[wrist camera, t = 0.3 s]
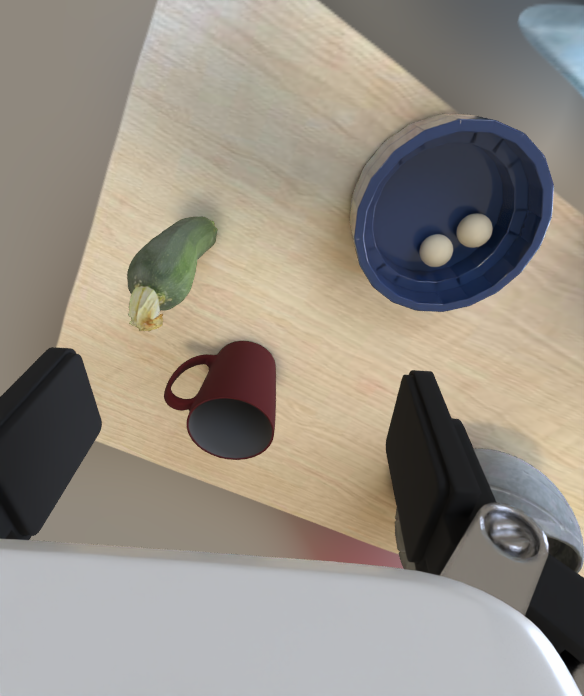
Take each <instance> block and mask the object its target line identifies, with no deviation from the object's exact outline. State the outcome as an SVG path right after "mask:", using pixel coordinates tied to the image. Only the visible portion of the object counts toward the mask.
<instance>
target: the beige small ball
mask: <svg viewBox="0 0 584 696" xmlns="http://www.w3.org/2000/svg"><path fill="white" fill-rule="evenodd" d="M492 230H493V227H492V223H491V221H490V219H489V218H488V217H486V216H485V215H483V214H478V213H476V214H471V215H468V216H466V217H465V218H463V219H462V220H461V222H460V223H459V225H458V227H457V238H458V240H459V242H460V243H461V244H463V245H464V246H466V247H471V248H474V247H479V246H481V245H483V244H485V243H486V242H487V241H488V240H489V238H490V237H491V234H492Z"/></svg>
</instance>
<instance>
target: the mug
mask: <svg viewBox="0 0 584 696" xmlns="http://www.w3.org/2000/svg"><path fill="white" fill-rule="evenodd" d="M200 364H206V365H207V366H208V367H209V372H208V374H207V376H206V378H205V380H204V382H203V384H202V386H201V388H200V390H199V392H198V394H197V395H196V396H195V397H194V398H191V399H182V398H179V397H177V396H175V395H174V394H173V393H172V391H171V386H172V384H173V383H174V381H175V380H176V379H177V378H178V377H179V375H181V374H182V373H183V372H184V371H185V370H187V369H189V368H191V367H193V366H196V365H200ZM164 399H165V401H166V403H167V404H168V405H169V406H170V407H171V408H173V409H176V410H182V411H183V410H188V409H189V411H190V412H189V415H188V418H187V430H188V433H189V436H190V437H191V439H192V440H193V442H194V443H195V444H196V445H197V446H198V447H200V448H201V449H202V450H204V451H205V452H207V453H209V454H211V455H214V456H217V457H219V458H224V459H232V460H241V459H248V458H252V457H255V456H257V455H259V454H261V453H262V452H264V451H265V450H266V449H267V448H268V447H269V446H270V444H271V443H272V440H273V437H274V429H275V413H276V366H275V361H274V358H273V357H272V355H271V354H270V352H269V351H268V350H267V349H265V348H264V347H262V346H261V345H259V344H256V343H253V342H249V341H237V342H233V343H230V344H228V345H226V346H225V347H224V348H222V349H221V351H220V352H219V354H217V355H208V354H205V355H199V356H196V357H193V358H191V359H189V360H187V361H186V362H184V363H183V364H182V365H181V366H179V367H178V368H177V370H176V371H175V372H174V373H173V375H172V376H171V378H170V379H169V381H168V383H167V386H166V389H165V393H164Z"/></svg>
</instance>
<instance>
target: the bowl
mask: <svg viewBox="0 0 584 696" xmlns="http://www.w3.org/2000/svg"><path fill="white" fill-rule="evenodd" d="M474 451H475V453H476V456H477V458H478V460H479V463H480V465H481V467H482V470H483V472H484V474H485V477H486V479H487V481H488V483H489V486H490V488H491V490H492V493H493V495H494V497H495V500H496V502H497V503H504V504H508V505H512V506H514V507H516V508H518V509H520V510H522V511H524V512H525V513H526V514H528V515H529V516H530V517H532V518H533V519H534V520H535V521H536V523H537V524H538V525H539V526H540V527H541V528H542V530H543V532H544V534H545V535H546V537H547V541H548V544H549V551H548V553H549V554H550V555H552V556H553V557H555V558H556V559H558V560H559V561H560V562H562V563H563V564H565V565H566V566H567V567H569V568H570V569H572V570H573V571H574V572H576V573H577V574H578V572H579V571H580V570H581V568H582V565H583V561H584V546H583V539H582V535H581V531H580V527H579V524H578V522H577V520H576V517H575V515H574V513H573V511H572V509H571V507H570V506H569V504H568V502H567V501H566V499H565V498H564V496H563V495H562V493H561V492H560V491H559V490H558V488H557V487H556V486H555V485H554V484H553V483H552V482H551V481H550V480H549V479H548V478H547V477H546V476H545V475H544V474H543V473H541V472H540V471H539V470H538V469H536V468H534V467H533V466H532V465H530V464H528V463H527V462H525V461H523V460H521V459H519V458H517V457H515V456H512V455H510V454H507V453H504V452H500V451H495V450H490V449H474ZM395 519H396V521H395V536H396V543H397V549H398V550H399V551H400V552H399V556H400V560H401V563H402V566H403V568H404V569H407V570H414V571H416V569H415V564H414V562H409V561H408V560H407V556H406V552H405V546H404V541H403V536H402V531H401V526H400V521H399V515H398V510H397V509H396V516H395Z"/></svg>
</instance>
